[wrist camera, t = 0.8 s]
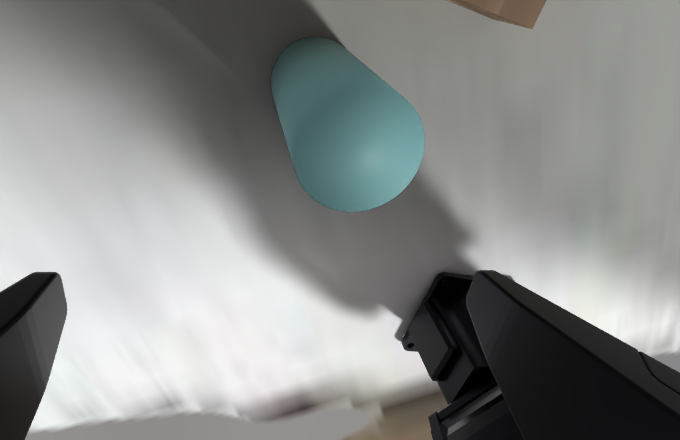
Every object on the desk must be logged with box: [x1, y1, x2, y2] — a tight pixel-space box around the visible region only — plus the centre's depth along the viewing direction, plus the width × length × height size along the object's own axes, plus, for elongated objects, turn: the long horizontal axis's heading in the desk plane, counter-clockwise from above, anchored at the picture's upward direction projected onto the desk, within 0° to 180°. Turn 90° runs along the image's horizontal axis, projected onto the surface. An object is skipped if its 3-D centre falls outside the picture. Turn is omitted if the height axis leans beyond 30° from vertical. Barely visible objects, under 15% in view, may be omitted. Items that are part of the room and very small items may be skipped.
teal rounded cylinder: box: [271, 37, 425, 212], centre depth 16 cm, size 4×4×8 cm
